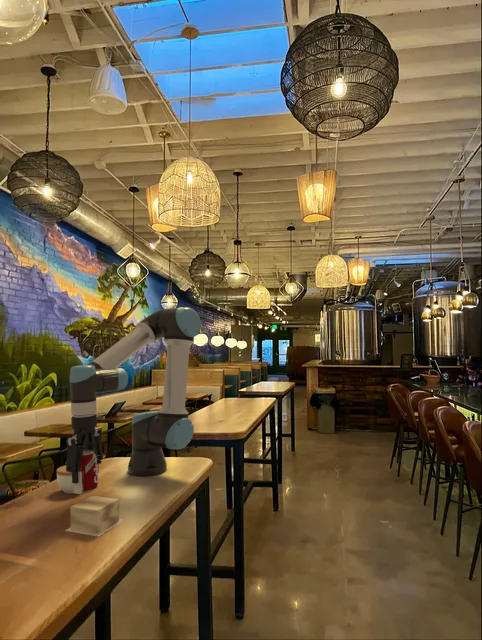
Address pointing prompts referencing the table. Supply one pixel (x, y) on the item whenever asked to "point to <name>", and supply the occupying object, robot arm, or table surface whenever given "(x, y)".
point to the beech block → (94, 514)
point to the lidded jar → (65, 479)
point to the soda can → (89, 471)
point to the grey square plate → (93, 533)
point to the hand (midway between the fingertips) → (86, 488)
